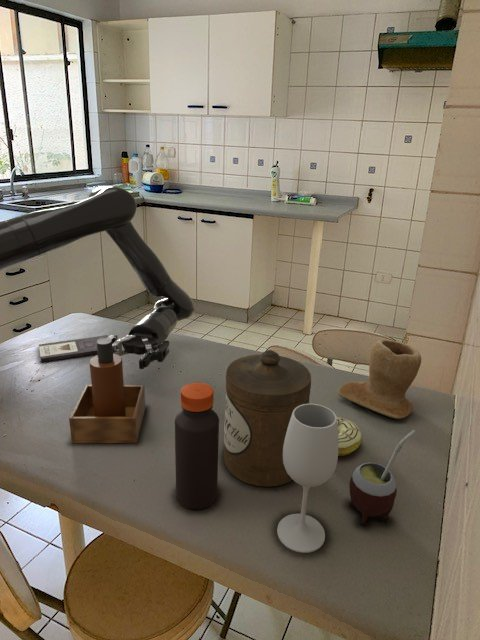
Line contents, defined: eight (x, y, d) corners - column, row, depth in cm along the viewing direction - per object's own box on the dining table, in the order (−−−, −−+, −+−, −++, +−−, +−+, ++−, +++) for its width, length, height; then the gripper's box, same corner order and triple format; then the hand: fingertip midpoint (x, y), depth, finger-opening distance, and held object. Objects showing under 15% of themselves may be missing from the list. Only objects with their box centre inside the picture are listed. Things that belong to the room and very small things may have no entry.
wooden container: (222, 435, 92) (225, 333, 84) (296, 434, 93) (306, 334, 85) (224, 488, 78) (227, 373, 70) (311, 487, 79) (324, 374, 71)
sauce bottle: (92, 430, 91) (83, 347, 84) (99, 413, 96) (91, 334, 89) (123, 430, 91) (117, 348, 84) (128, 413, 97) (123, 334, 90)
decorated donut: (327, 420, 98) (329, 405, 97) (370, 445, 90) (373, 429, 89) (293, 438, 92) (295, 422, 90) (336, 467, 84) (339, 450, 83)
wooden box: (71, 443, 88) (68, 418, 86) (87, 407, 99) (85, 384, 97) (136, 443, 89) (135, 418, 86) (145, 407, 100) (144, 385, 98)
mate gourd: (339, 517, 73) (351, 439, 67) (355, 488, 79) (368, 414, 74) (386, 539, 70) (403, 458, 64) (399, 506, 76) (416, 430, 70)
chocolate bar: (113, 348, 124) (40, 358, 116) (113, 351, 124) (41, 362, 117) (107, 335, 131) (38, 344, 124) (107, 338, 132) (39, 347, 124)
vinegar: (221, 484, 79) (224, 382, 71) (211, 514, 73) (213, 405, 65) (183, 478, 80) (182, 376, 73) (170, 506, 74) (167, 398, 66)
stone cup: (421, 406, 104) (434, 346, 99) (398, 428, 96) (411, 364, 90) (360, 382, 114) (369, 326, 108) (335, 400, 105) (343, 341, 100)
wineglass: (315, 510, 74) (329, 398, 66) (334, 549, 67) (352, 429, 60) (270, 517, 73) (279, 402, 65) (284, 557, 66) (297, 435, 58)
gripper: (122, 314, 110) (87, 341, 95) (179, 321, 107) (153, 350, 93) (124, 342, 113) (90, 373, 98) (179, 350, 110) (154, 383, 96)
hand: (121, 362), depth 95 cm, fingers open, 8 cm apart
